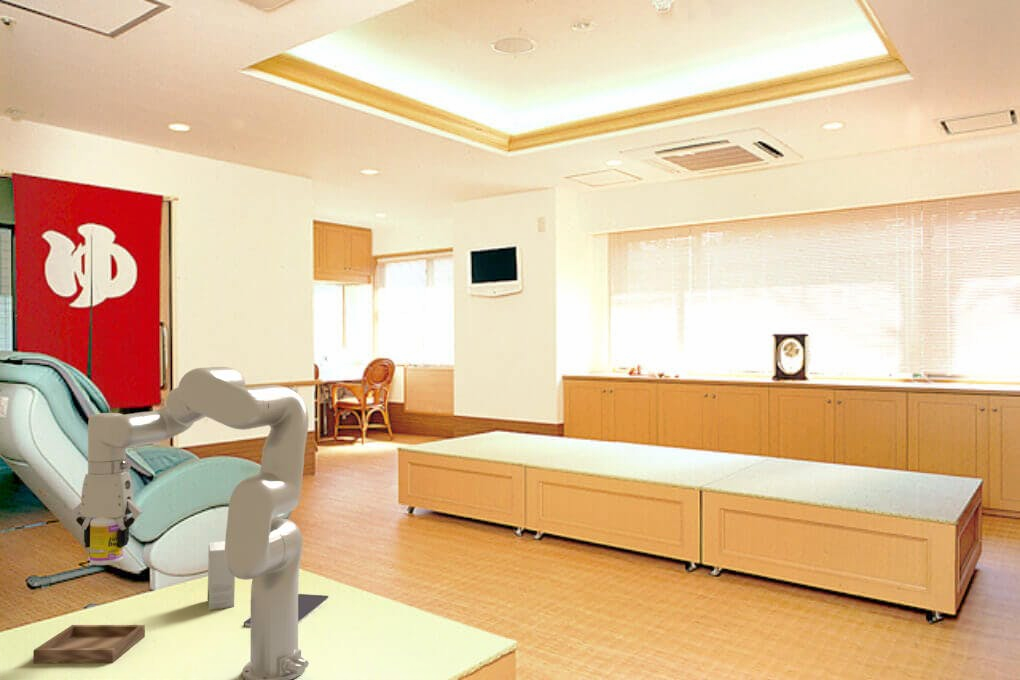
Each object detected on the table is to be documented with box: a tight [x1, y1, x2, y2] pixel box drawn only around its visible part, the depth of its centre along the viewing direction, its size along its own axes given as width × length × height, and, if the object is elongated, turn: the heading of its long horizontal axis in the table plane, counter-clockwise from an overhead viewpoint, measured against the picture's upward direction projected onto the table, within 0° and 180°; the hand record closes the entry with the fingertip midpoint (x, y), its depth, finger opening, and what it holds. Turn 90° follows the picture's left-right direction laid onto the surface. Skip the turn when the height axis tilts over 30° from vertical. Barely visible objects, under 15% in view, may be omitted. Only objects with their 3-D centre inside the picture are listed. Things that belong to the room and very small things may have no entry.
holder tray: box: [32, 624, 146, 664], centre depth 164 cm, size 17×14×3 cm
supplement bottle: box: [89, 517, 124, 566], centre depth 166 cm, size 7×7×13 cm
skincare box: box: [207, 540, 236, 611], centre depth 193 cm, size 8×7×16 cm
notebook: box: [243, 593, 329, 627], centre depth 187 cm, size 13×2×21 cm
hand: (106, 545), depth 166 cm, fingers closed on supplement bottle, 6 cm apart
